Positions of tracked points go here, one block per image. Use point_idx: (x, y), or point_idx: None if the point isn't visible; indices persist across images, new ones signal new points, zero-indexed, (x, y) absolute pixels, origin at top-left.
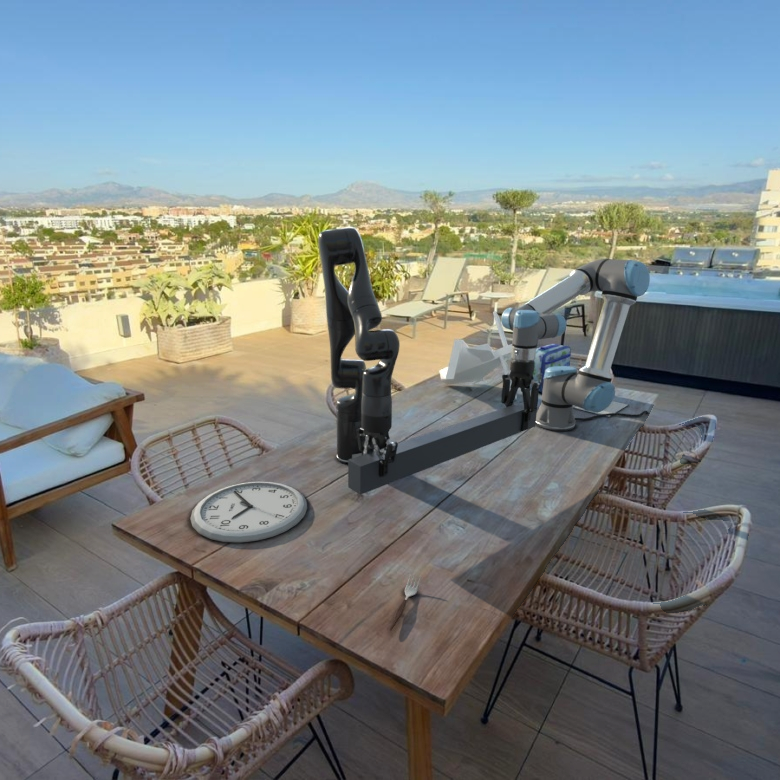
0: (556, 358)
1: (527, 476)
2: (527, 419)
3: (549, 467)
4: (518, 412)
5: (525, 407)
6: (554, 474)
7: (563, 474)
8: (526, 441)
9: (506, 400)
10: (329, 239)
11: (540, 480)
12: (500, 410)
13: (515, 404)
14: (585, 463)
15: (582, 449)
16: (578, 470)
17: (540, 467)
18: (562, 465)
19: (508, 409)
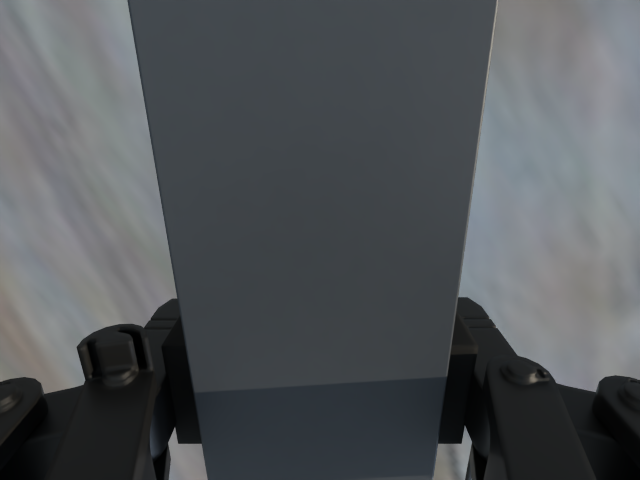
0: None
1: (88, 20)
2: (161, 316)
3: (116, 219)
4: (178, 258)
5: (112, 419)
6: (42, 169)
7: (23, 205)
8: None
9: (596, 461)
10: None
11: (15, 39)
12: (442, 5)
13: (428, 472)
14: (71, 372)
15: (179, 465)
16: (28, 294)
17: (139, 183)
18: (103, 284)
19: (362, 210)
